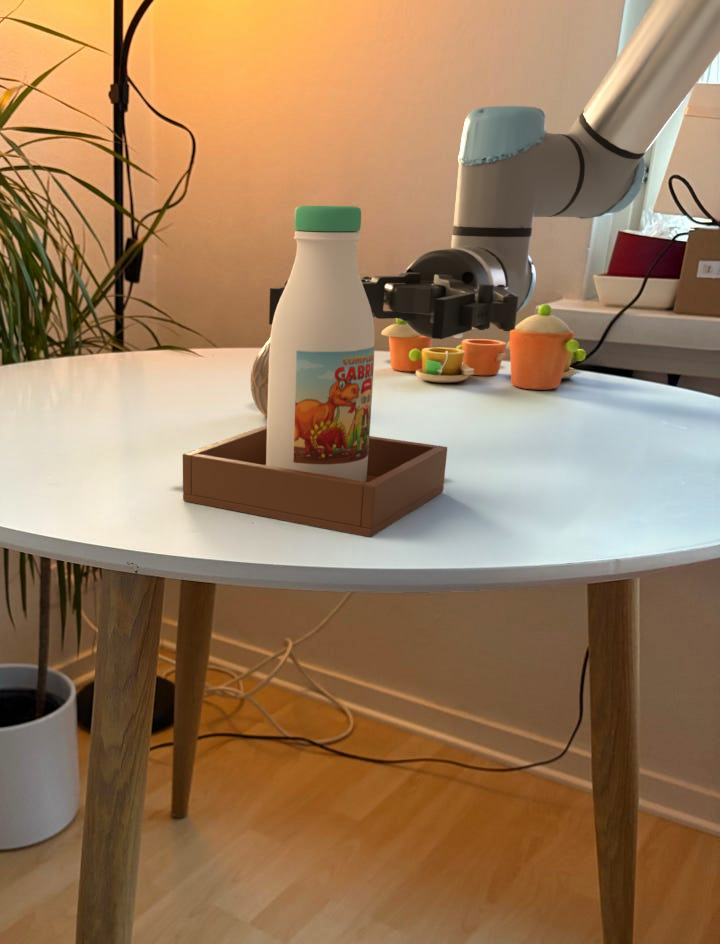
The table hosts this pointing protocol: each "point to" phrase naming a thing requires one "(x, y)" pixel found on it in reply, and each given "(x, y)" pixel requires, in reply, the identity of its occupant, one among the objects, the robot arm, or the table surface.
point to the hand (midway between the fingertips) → (352, 312)
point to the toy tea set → (492, 353)
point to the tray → (315, 484)
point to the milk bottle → (322, 352)
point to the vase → (261, 379)
